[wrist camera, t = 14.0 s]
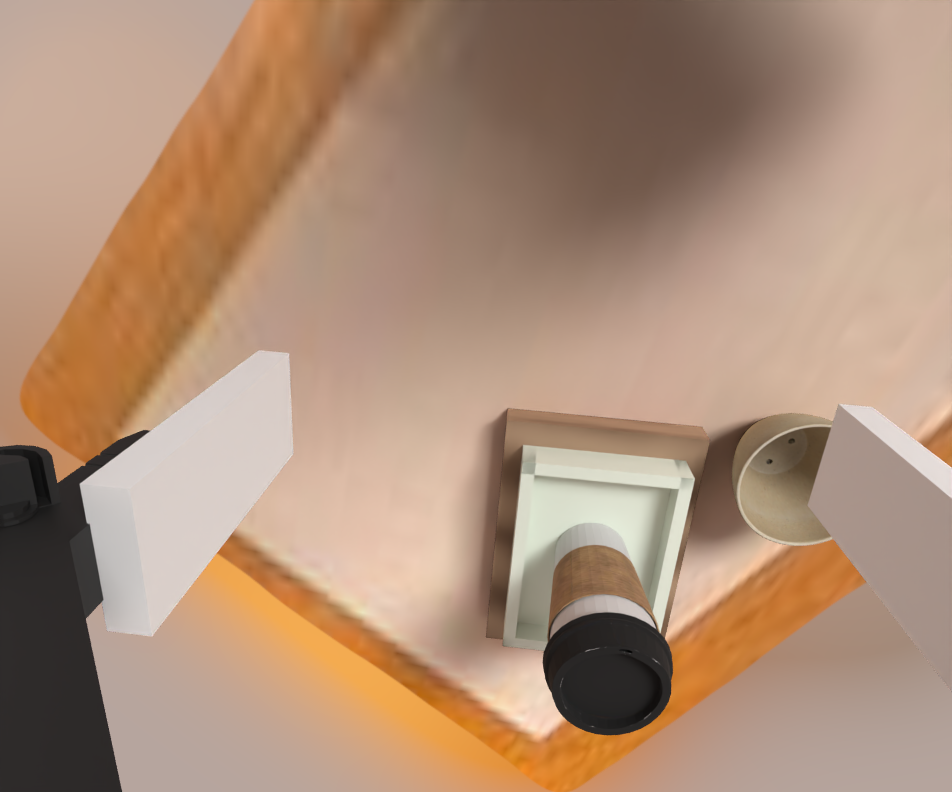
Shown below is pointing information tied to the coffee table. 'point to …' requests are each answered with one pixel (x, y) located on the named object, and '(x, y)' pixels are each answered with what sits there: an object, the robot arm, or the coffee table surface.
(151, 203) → the coffee table surface
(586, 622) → the coffee cup
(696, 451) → the shelf board
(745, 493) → the flower pot
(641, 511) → the tray
